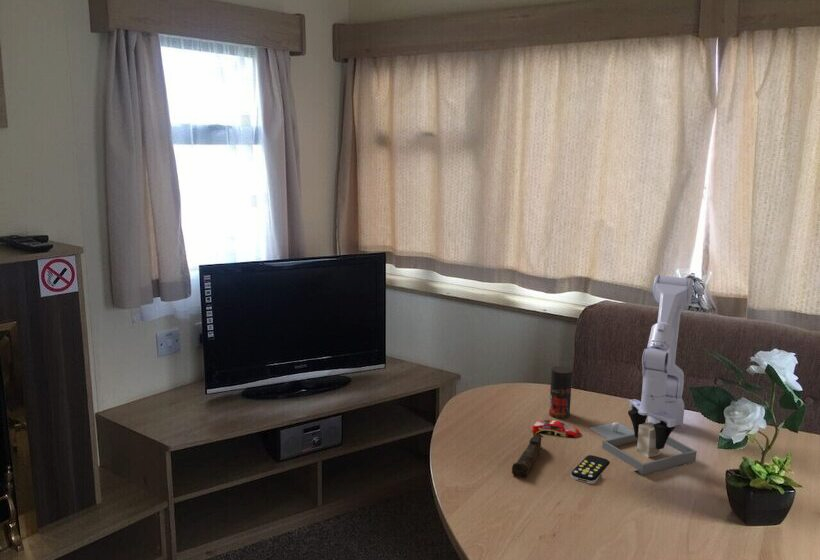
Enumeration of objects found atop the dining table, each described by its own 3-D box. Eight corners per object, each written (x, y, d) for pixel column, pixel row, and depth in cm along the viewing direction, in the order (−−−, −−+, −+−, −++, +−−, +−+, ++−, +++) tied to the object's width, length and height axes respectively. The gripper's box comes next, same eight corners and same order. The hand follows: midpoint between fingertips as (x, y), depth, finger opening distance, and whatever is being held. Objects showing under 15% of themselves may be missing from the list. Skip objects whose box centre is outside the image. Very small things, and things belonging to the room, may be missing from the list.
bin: (653, 438, 202) (654, 428, 201) (695, 461, 189) (696, 451, 188) (601, 451, 194) (602, 440, 194) (642, 476, 181) (642, 464, 180)
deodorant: (544, 415, 217) (547, 367, 213) (561, 412, 219) (564, 365, 216) (556, 423, 211) (559, 374, 208) (573, 420, 214) (576, 371, 210)
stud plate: (616, 424, 211) (617, 412, 210) (641, 438, 202) (642, 426, 201) (588, 431, 206) (589, 418, 206) (612, 445, 198) (613, 432, 197)
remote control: (611, 466, 187) (611, 459, 187) (593, 486, 177) (593, 478, 176) (587, 459, 190) (588, 452, 190) (568, 479, 180) (569, 471, 180)
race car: (581, 435, 204) (582, 422, 204) (579, 443, 199) (580, 429, 199) (533, 428, 209) (534, 415, 208) (530, 436, 204) (531, 422, 203)
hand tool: (526, 480, 179) (527, 463, 178) (511, 476, 181) (512, 459, 180) (549, 450, 196) (550, 433, 194) (534, 446, 197) (535, 430, 196)
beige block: (636, 453, 192) (638, 424, 190) (648, 450, 194) (650, 422, 192) (647, 459, 189) (650, 430, 187) (659, 456, 190) (661, 427, 189)
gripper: (621, 386, 192) (618, 434, 195) (662, 405, 179) (657, 456, 183) (642, 382, 195) (638, 429, 198) (684, 401, 182) (679, 451, 186)
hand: (649, 442), depth 191 cm, fingers open, 7 cm apart
